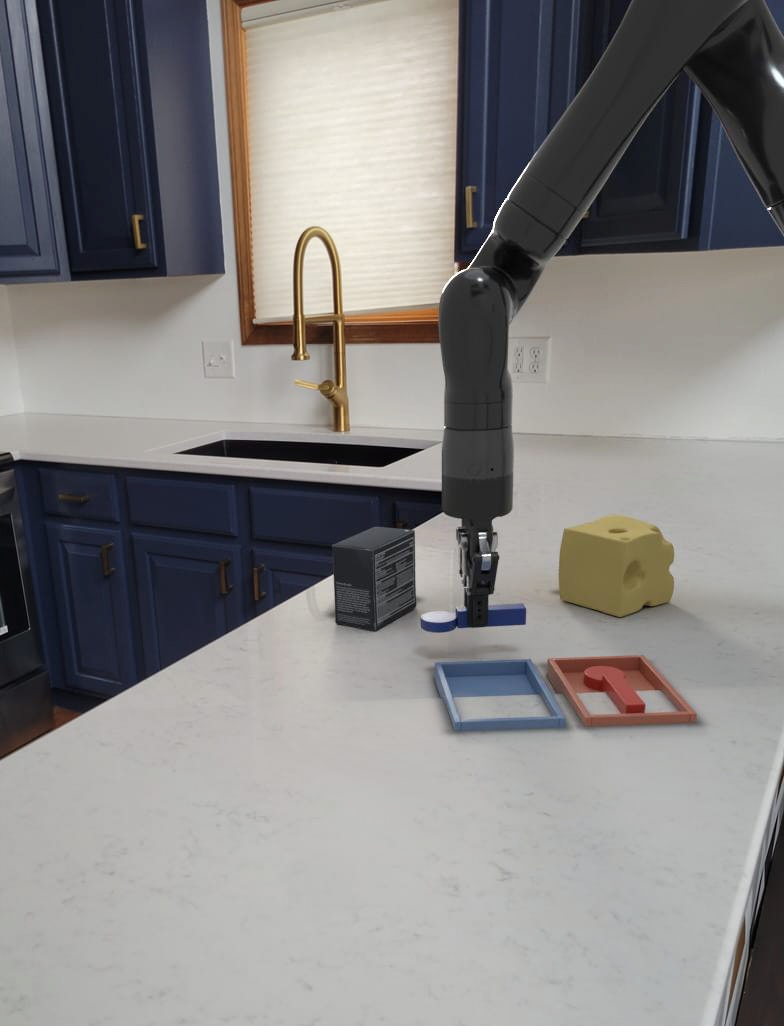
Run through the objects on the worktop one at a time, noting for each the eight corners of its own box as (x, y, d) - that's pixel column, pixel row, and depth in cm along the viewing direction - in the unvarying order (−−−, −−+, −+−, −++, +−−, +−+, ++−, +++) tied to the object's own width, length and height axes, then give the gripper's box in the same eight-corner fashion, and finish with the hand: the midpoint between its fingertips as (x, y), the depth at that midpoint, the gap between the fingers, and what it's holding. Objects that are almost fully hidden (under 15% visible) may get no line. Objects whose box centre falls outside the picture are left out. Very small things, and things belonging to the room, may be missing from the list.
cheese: (673, 602, 123) (680, 526, 120) (618, 620, 117) (624, 541, 114) (607, 584, 131) (612, 512, 128) (553, 600, 126) (557, 526, 122)
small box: (375, 600, 129) (374, 524, 125) (418, 607, 125) (418, 529, 121) (331, 623, 121) (329, 542, 117) (376, 632, 117) (374, 549, 113)
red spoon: (655, 723, 90) (657, 703, 89) (612, 724, 90) (614, 705, 89) (617, 675, 100) (618, 657, 100) (579, 676, 101) (580, 659, 100)
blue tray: (529, 676, 102) (530, 658, 102) (564, 737, 89) (565, 718, 88) (434, 679, 103) (434, 662, 102) (454, 741, 89) (454, 722, 88)
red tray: (642, 672, 102) (643, 654, 102) (694, 733, 88) (697, 713, 88) (546, 675, 102) (547, 658, 102) (584, 737, 89) (585, 717, 88)
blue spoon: (520, 616, 109) (521, 600, 109) (528, 628, 105) (528, 611, 105) (419, 621, 110) (418, 605, 109) (422, 633, 106) (422, 616, 105)
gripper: (526, 479, 95) (522, 642, 101) (500, 456, 108) (497, 602, 114) (450, 483, 95) (450, 646, 101) (434, 459, 108) (434, 605, 114)
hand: (475, 622), depth 107 cm, fingers closed on blue spoon, 2 cm apart
